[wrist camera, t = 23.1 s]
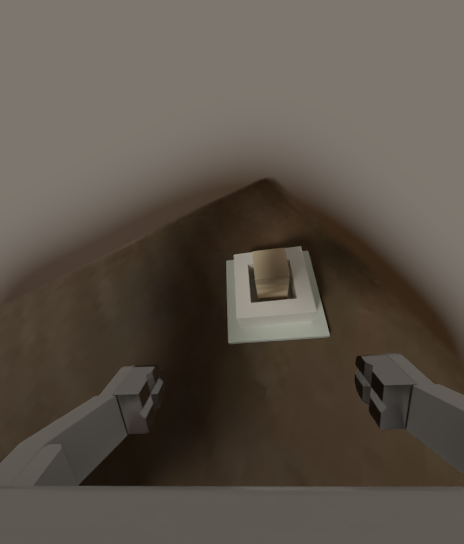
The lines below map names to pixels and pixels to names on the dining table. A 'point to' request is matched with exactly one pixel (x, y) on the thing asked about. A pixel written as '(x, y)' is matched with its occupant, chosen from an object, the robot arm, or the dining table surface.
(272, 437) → the dining table surface
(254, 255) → the tan tall wooden block
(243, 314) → the white socket base
